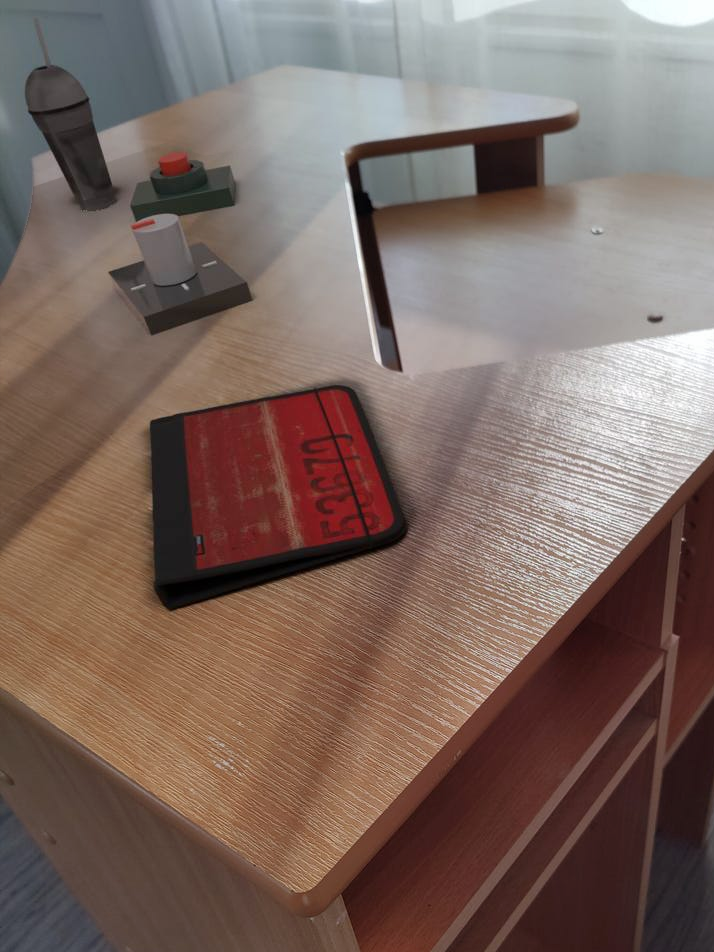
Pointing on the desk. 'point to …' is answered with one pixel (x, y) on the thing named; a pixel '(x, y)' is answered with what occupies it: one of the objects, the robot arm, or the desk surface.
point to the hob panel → (181, 292)
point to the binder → (265, 491)
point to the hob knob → (164, 249)
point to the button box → (184, 192)
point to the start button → (174, 163)
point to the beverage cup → (69, 131)
